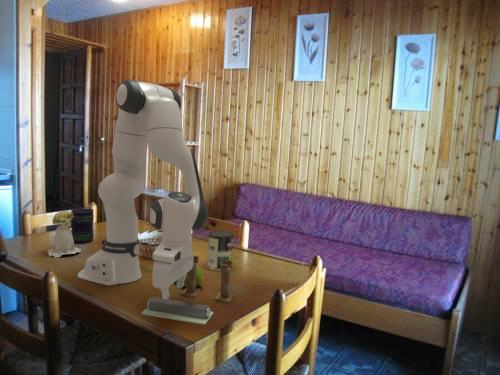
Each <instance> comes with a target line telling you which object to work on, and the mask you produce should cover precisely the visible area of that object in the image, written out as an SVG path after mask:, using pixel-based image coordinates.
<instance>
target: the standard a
mask: <svg viewBox="0 0 500 375" xmlns="http://www.w3.org/2000/svg"><path fill="white" fill-rule="evenodd" d="M198 264H199V256H198V255H193V267H192V269H191V270H190V271H189V272H187V287H185V289H183V290H182V291H181V292H180V296H182V297H189V298H196V297H197V296H198V295H199V293H201V292H202V289H201V288H197V287H196V267H197V265H198ZM197 268H198V267H197Z"/></svg>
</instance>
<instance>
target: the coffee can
mask: <svg viewBox="0 0 500 375" xmlns="http://www.w3.org/2000/svg"><path fill="white" fill-rule="evenodd" d="M207 235H208V240H207V241H208V242H207V264H206V267H207V268H208V269H210V270H212V271H220V266H221V264H225V260H232V261H233V248H234V247H233V245H234V237H235V236H234V235H235V234H234V233H233V232H231V231H228V230H222V229H221V230H220V229H219V230H210V231H209V232H208V234H207ZM228 269H231V270H232V268H228Z"/></svg>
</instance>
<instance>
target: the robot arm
mask: <svg viewBox="0 0 500 375" xmlns="http://www.w3.org/2000/svg"><path fill="white" fill-rule="evenodd" d="M115 101H116V105H117V107H118V108H119V109H120V110H119V113H118V116H117V120H116V122H115V129H114V134H113V142H112V149H111V153H112V154H111V155H112V157H113V158H112V159H113V173H111V174H108V175H107V176H105V177H104V178H103V179H102V180H101V181H100V182H99V184H98V188H97V192H98V196H99V199H101V201H102V205H103V209H104V215H105V223H106V224H105V236H106V237H105V238H104V239H103V240H101V241H99V244H98V245H99V246H101V245H102V246H101V248H100V249H99V250H98V251H96V252H94V254H92V255H91V256H89V257H88V258H87V259H86V261H85V263H84V267H83V269H82V270H80V271H79V272H78V274H77V279H81V280H85V281H88V282H92V283H97V284H100V285H103V286H104V285H105V286H113V285H114V286H115V285H118V284H119V285H121V284H128V283H133V282H135V281H139V279H141V278H142V276H143V274H142V272H141V271H142V270H141V267H140V261H139V252H140V239H139V216H138V215H137V212H136V205H135V199H136V198H138V197H139V196H140V195H141V193H143V191H144V188H145V185H146V184H145V155H146V147H147V146H148V149H149V151H150V152H151V154H152V155H153V156H154V157H155V158H157V159H159V160H161V161H162V162H164V163H166V164H169V165H172V166H173V167H175V168H177V170H179V171H180V172H181V174H182V175H183V180H184V185H185V190H186V193H185V192H181V191H172V192H169V193H167V194H166V195H165V197H163V198H161V199H160V198H159V199H156V200H155V201H154V202H152V203H151V205H149V210H148V222H149V224H150V225H151V227H153V228H154V229H155V230H158V231H162V236H161V241H160V243H159V245H158V246H157V247H156V249H155V250H154V251H153V254H152V260H154V262H153V264H152V265H153V266H152V279H151V280H152V282H151V283H152V286H153V288H156V289H160V291H161V298H162V299H165V300H167V299H170V297H171V292H170V291H169V289H170V286H171V285H172V284H174V283H175V282H176V288H178V289H182V288H183V287H185V286H184V280H185V278H186V273H187V272H189V271H190V270H191V269H192V267H193V264H194V263H193V256H194V249H193V248H192V245H193V235H192V231H199V230H201V229H202V228H203V227H204V226H205V225H206V224H207V222H208V220H209V209H208V206H207V205H208V204H207V202H206V200H205V197H204V192H203V188H202V183H201V177H200V173H199V168H198V164H197V159H196V156H195V154H194V152H193V151H192V149H190V148H189V147H188V146H187V143H186V141H185V139H184V135H183V134H184V133H183V132H184V130H183V121H182V120H183V119H182V115H181V111H180V110H181V108H182V99H181V95H180V94H179V93H178V92H177V91H176V90H174V89H172V88H169V87H165V86H163V85H160V84H156V83H153V82H152V83H149V82H143V81H137V80H135V79H126V80H122V82H120V83H119V84H118V86H117V88H116V92H115ZM177 280H178V281H177Z"/></svg>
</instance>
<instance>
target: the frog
mask: <svg viewBox="0 0 500 375" xmlns="http://www.w3.org/2000/svg"><path fill="white" fill-rule="evenodd" d="M73 217H74V214H73V212H72V211H71V210H70V211H69V210H61V211H58V212H56V213H55V214H54V216H53V217H52V225H56V226H57V228H56V229H55V233H54V236H53V239H52V244H53V245H54V246H55V247H54V248H49V247H48V250H47V253H48V254H47V255H48V257H50V256H51V257H52V256H53V258H55V257H58V258H60V257H62V256H63V255H72V254H74V255H75V254H76V253H82V251H81V249H82V248H78V247H75V244H74V241H73V236H72V232H71V230H72V228H71V227H72V223H71V220H72V219H73ZM51 257H50V258H51Z"/></svg>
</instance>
